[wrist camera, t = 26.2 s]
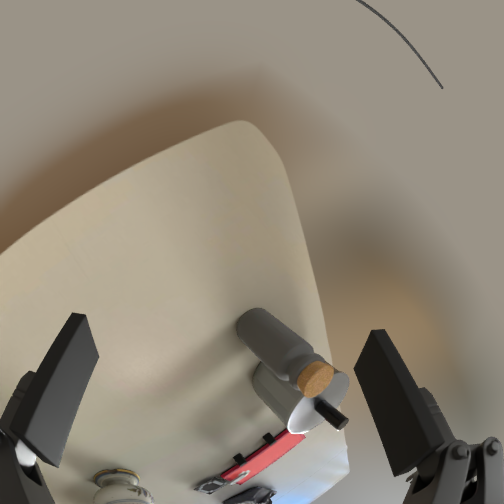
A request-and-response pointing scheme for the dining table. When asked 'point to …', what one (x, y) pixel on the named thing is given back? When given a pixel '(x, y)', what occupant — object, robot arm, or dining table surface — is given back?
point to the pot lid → (320, 407)
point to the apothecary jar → (120, 488)
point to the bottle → (284, 352)
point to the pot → (276, 391)
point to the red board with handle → (254, 461)
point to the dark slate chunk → (253, 497)
